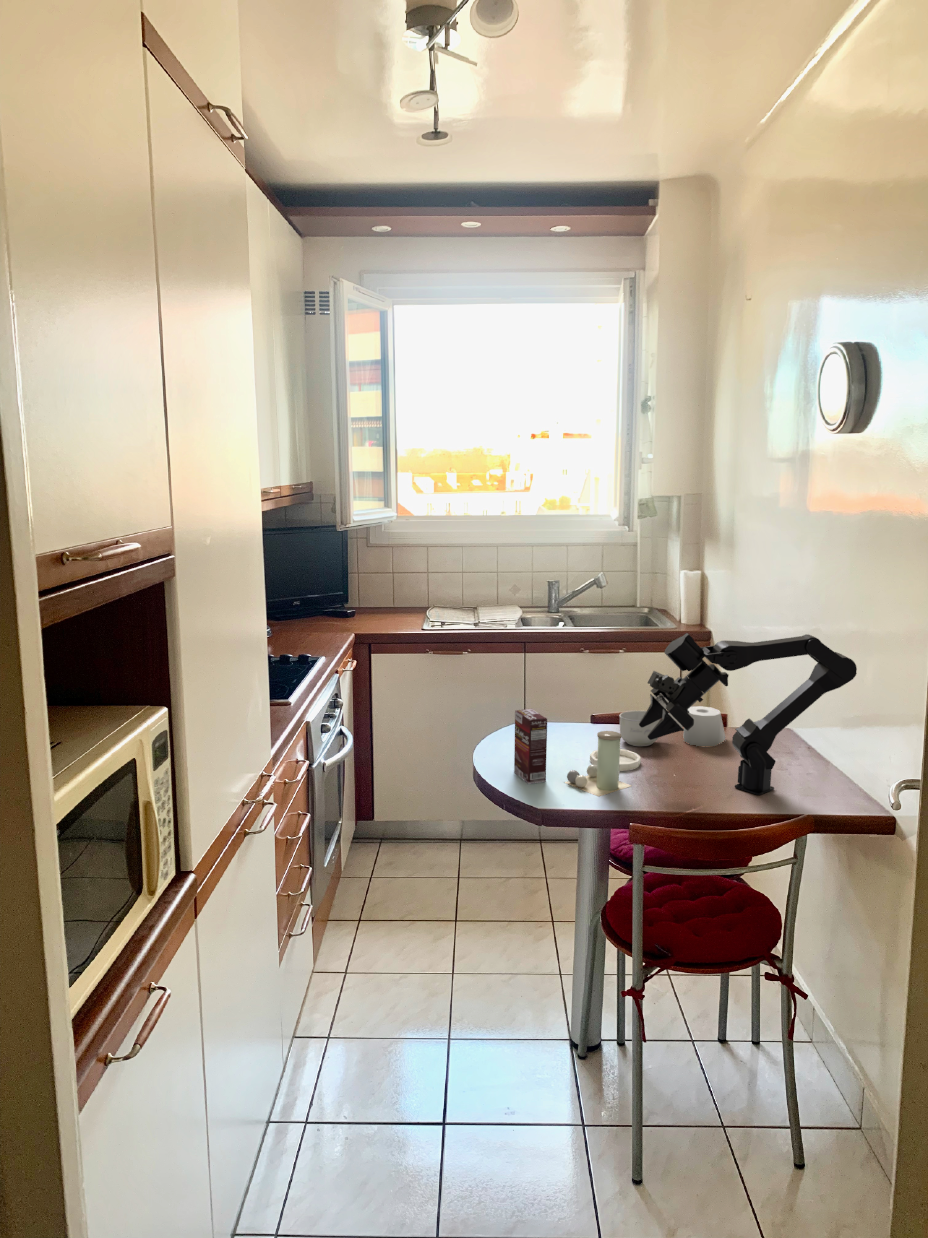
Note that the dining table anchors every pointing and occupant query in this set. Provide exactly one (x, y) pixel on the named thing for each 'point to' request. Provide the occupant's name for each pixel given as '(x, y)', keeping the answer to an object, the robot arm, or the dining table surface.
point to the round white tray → (621, 759)
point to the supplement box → (530, 746)
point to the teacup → (635, 728)
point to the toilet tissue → (705, 727)
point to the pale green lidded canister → (608, 760)
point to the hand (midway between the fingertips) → (644, 732)
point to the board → (593, 789)
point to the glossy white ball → (592, 771)
